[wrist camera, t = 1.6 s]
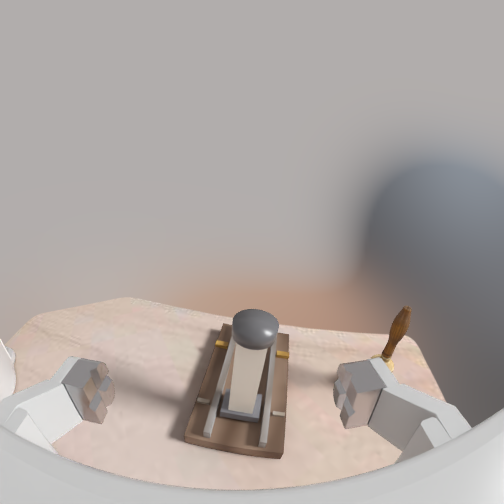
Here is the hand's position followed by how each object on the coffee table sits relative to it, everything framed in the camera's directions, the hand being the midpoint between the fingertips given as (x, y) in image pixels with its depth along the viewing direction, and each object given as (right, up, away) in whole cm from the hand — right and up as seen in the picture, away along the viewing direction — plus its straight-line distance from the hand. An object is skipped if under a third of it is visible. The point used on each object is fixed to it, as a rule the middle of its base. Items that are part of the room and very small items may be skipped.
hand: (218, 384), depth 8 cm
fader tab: (0, -16, +23) cm, 28 cm away
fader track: (0, -16, +29) cm, 33 cm away
